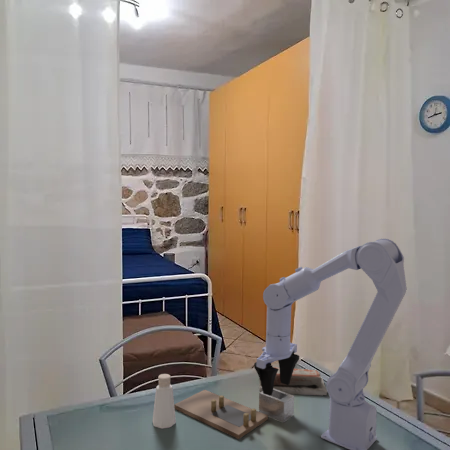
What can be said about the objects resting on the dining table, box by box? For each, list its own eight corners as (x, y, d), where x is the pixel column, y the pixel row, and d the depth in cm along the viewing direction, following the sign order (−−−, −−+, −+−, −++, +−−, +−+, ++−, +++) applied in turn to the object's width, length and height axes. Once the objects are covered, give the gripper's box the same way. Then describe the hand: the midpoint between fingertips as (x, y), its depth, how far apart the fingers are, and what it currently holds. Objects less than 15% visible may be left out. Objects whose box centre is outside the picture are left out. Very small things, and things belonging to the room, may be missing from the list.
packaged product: (259, 375, 116) (259, 361, 126) (258, 393, 117) (259, 378, 127) (328, 379, 115) (323, 364, 125) (327, 397, 115) (322, 381, 125)
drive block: (293, 416, 105) (294, 395, 104) (283, 423, 101) (284, 402, 101) (269, 406, 109) (269, 386, 109) (258, 413, 106) (259, 392, 105)
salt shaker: (180, 423, 100) (181, 376, 99) (160, 431, 96) (160, 383, 96) (167, 414, 104) (167, 369, 103) (147, 421, 100) (147, 375, 100)
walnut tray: (267, 419, 102) (268, 405, 102) (238, 439, 94) (239, 423, 94) (204, 393, 115) (204, 380, 115) (174, 408, 107) (174, 394, 106)
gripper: (280, 322, 112) (278, 374, 113) (246, 336, 101) (244, 393, 102) (305, 328, 107) (303, 382, 108) (272, 343, 96) (270, 403, 97)
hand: (276, 388), depth 105 cm, fingers open, 7 cm apart
